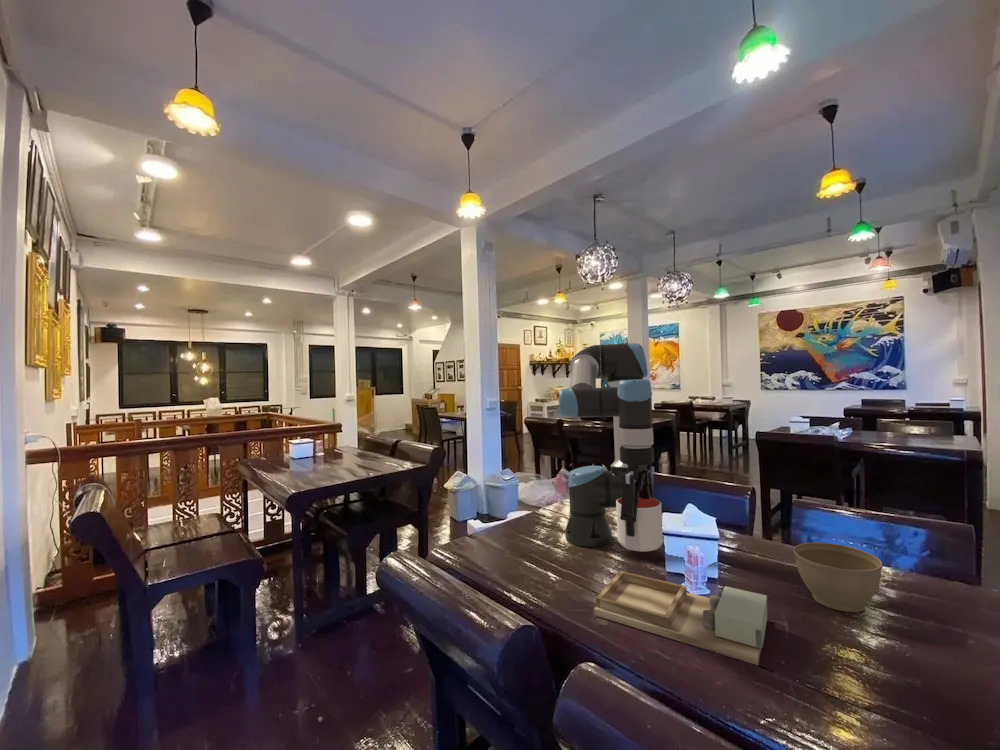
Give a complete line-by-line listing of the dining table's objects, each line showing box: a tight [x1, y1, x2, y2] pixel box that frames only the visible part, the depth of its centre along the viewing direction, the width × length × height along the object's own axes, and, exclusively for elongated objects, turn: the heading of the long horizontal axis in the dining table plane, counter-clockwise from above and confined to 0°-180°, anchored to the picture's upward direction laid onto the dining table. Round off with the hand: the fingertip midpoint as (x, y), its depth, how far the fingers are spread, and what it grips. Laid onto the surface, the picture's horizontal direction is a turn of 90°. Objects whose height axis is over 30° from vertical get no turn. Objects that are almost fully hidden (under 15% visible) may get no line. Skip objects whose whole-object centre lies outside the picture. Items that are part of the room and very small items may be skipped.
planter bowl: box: [793, 542, 883, 613], centre depth 100 cm, size 16×16×11 cm
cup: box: [615, 497, 664, 552], centre depth 101 cm, size 10×10×10 cm
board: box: [593, 570, 762, 666], centre depth 97 cm, size 18×32×4 cm, turn 55°
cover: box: [715, 585, 769, 650], centre depth 90 cm, size 13×8×4 cm, turn 145°
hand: (640, 541), depth 101 cm, fingers closed on cup, 10 cm apart
